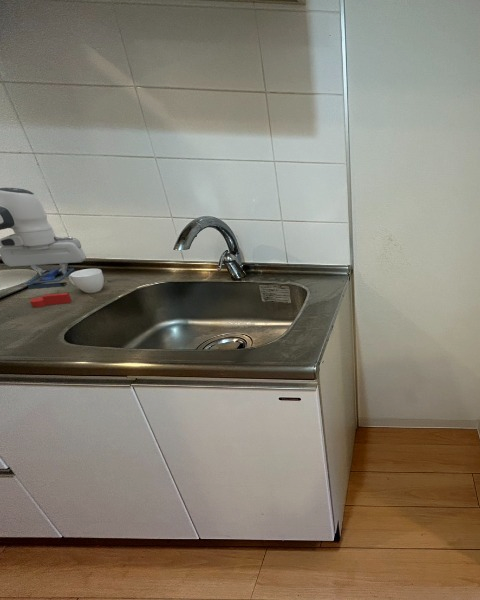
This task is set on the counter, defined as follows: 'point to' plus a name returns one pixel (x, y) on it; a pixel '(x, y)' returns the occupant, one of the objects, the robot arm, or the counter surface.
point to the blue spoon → (51, 275)
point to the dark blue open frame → (47, 281)
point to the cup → (88, 280)
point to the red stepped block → (51, 299)
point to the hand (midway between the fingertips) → (54, 275)
